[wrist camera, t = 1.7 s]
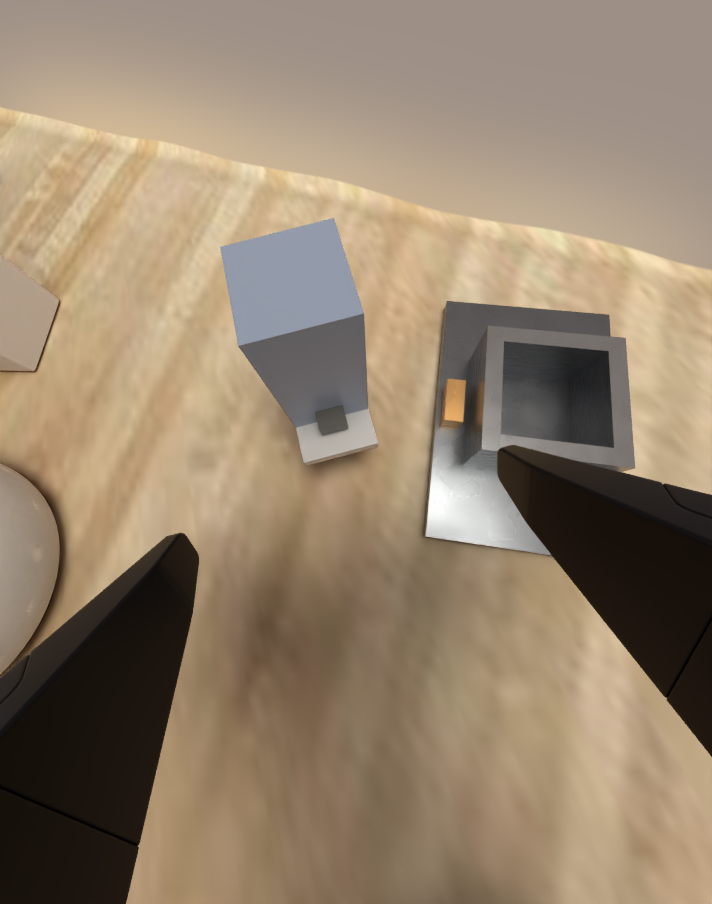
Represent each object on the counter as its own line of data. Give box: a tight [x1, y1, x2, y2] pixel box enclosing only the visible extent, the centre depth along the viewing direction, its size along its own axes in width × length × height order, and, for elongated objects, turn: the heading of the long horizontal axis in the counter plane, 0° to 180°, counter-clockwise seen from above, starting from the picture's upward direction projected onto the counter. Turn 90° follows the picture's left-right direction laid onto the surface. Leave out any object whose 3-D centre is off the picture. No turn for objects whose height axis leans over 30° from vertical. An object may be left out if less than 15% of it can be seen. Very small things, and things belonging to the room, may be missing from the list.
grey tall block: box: [220, 218, 378, 466], centre depth 18 cm, size 9×4×13 cm, turn 15°
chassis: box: [423, 301, 635, 556], centre depth 21 cm, size 18×12×5 cm, turn 171°
